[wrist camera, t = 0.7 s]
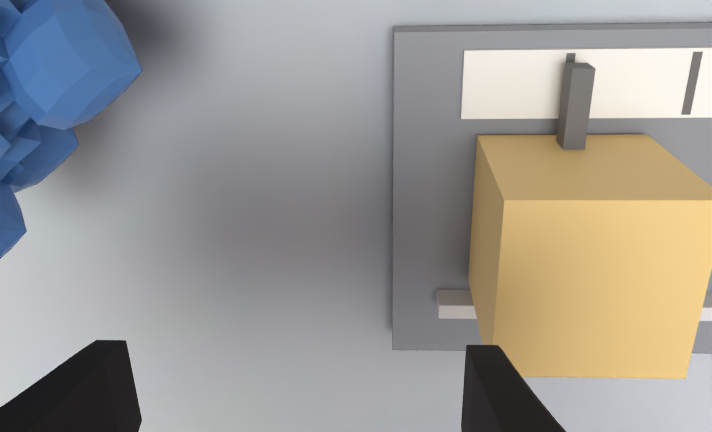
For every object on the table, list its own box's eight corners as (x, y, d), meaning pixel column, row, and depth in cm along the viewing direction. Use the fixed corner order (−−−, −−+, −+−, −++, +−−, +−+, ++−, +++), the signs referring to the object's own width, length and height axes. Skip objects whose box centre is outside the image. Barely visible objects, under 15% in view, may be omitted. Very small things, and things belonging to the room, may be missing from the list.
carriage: (621, 280, 21) (685, 378, 17) (468, 280, 21) (490, 376, 17) (660, 57, 18) (751, 102, 14) (481, 59, 18) (512, 104, 14)
